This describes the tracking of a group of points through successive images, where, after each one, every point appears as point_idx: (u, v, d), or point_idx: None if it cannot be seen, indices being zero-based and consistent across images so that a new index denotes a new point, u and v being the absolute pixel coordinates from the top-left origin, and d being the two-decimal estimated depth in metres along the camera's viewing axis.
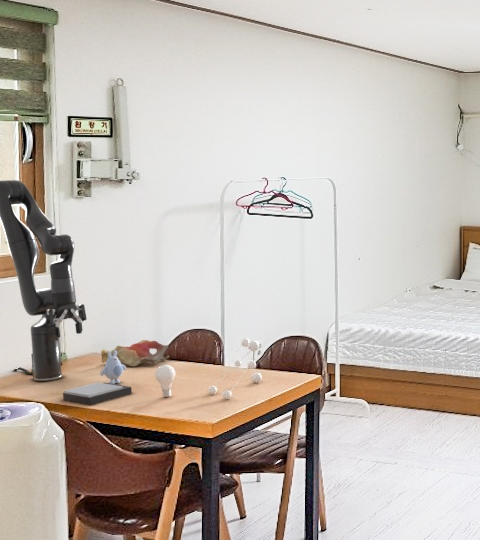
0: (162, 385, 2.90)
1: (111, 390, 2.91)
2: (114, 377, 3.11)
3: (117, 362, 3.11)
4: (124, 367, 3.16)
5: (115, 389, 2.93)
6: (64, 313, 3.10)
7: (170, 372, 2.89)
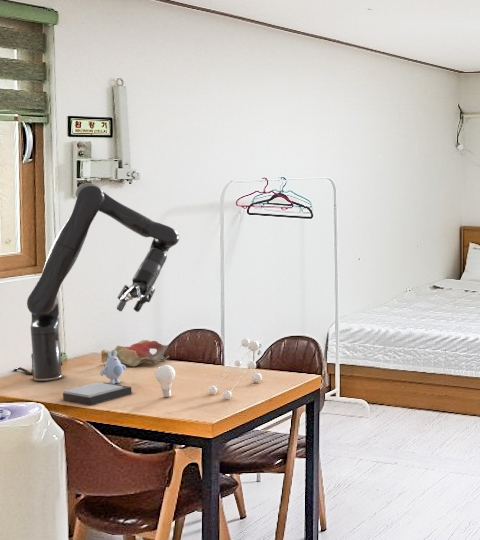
0: (162, 385, 2.90)
1: (111, 390, 2.91)
2: (114, 377, 3.11)
3: (117, 362, 3.11)
4: (124, 367, 3.16)
5: (115, 389, 2.93)
6: None
7: (170, 372, 2.89)
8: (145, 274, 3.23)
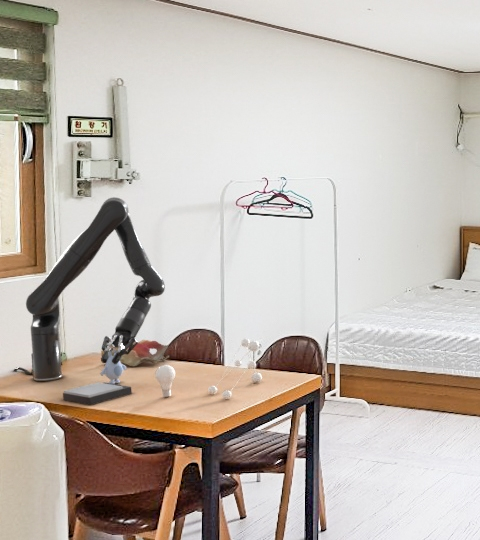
0: (162, 385, 2.90)
1: (111, 390, 2.91)
2: (114, 377, 3.11)
3: None
4: (124, 367, 3.16)
5: (115, 389, 2.93)
6: None
7: (170, 372, 2.89)
8: (129, 323, 3.16)
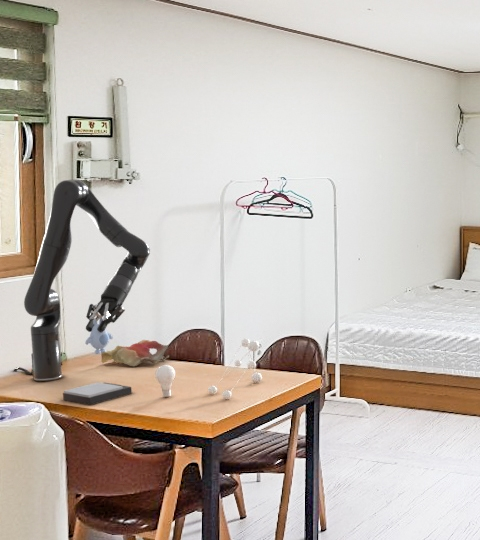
0: (162, 385, 2.90)
1: (111, 390, 2.91)
2: (100, 346, 2.97)
3: (103, 331, 2.97)
4: (110, 336, 3.02)
5: (115, 389, 2.93)
6: None
7: (170, 372, 2.89)
8: (116, 290, 3.02)
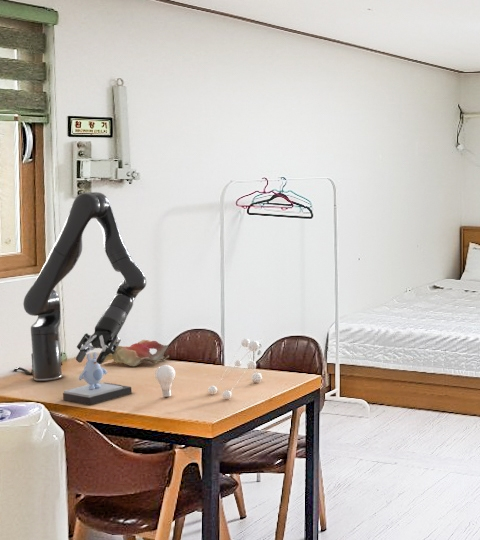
0: (162, 385, 2.90)
1: (111, 390, 2.91)
2: (94, 382, 2.91)
3: (97, 365, 2.91)
4: (105, 371, 2.96)
5: (115, 389, 2.93)
6: None
7: (170, 372, 2.89)
8: (110, 323, 2.96)
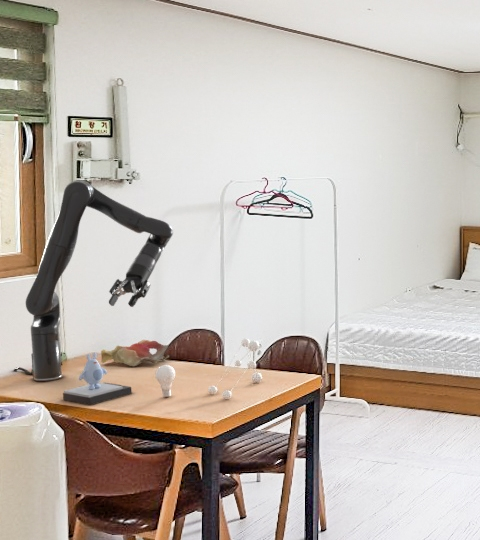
0: (162, 385, 2.90)
1: (111, 390, 2.91)
2: (94, 382, 2.91)
3: (97, 365, 2.91)
4: (105, 371, 2.96)
5: (115, 389, 2.93)
6: None
7: (170, 372, 2.89)
8: (140, 269, 3.13)
